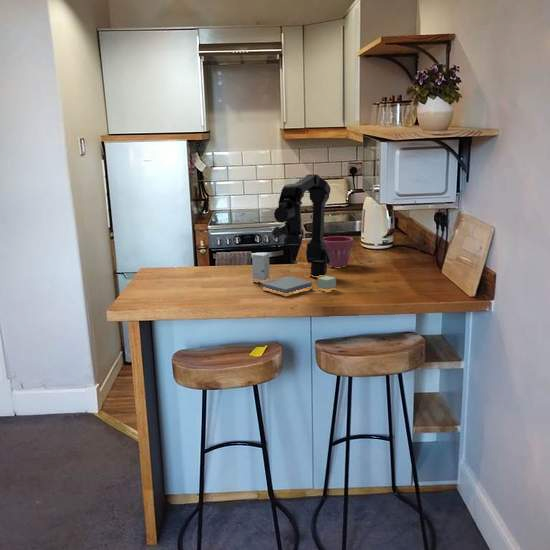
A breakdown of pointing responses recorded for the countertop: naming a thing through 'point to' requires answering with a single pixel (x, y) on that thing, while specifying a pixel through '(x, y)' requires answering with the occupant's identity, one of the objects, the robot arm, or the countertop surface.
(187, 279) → the countertop surface
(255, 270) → the skincare box
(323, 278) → the green cube
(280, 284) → the base
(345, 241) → the plant pot
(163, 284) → the countertop surface
